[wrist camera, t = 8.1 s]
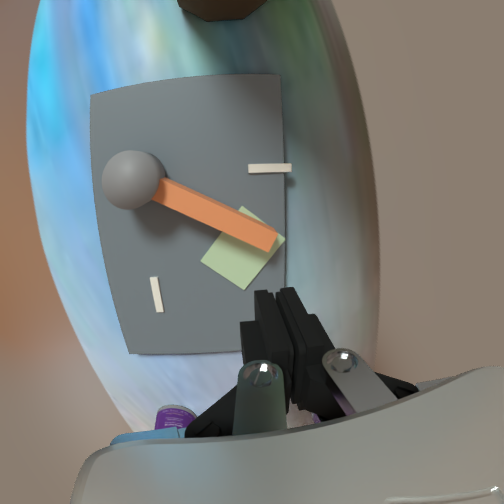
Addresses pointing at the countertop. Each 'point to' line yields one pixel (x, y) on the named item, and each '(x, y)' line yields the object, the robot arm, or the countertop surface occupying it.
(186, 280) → the tuner board
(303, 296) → the countertop surface
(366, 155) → the countertop surface
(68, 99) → the countertop surface
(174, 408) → the container
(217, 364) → the countertop surface
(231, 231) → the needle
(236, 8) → the beer bottle
